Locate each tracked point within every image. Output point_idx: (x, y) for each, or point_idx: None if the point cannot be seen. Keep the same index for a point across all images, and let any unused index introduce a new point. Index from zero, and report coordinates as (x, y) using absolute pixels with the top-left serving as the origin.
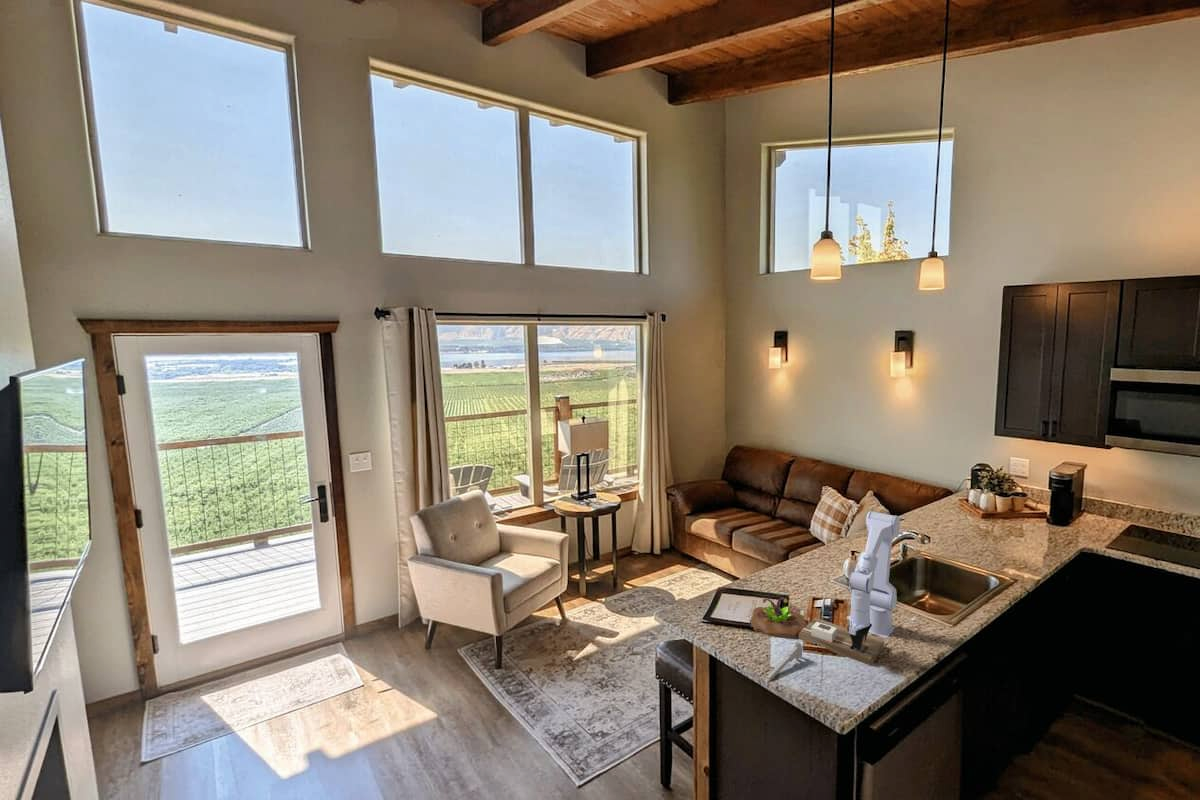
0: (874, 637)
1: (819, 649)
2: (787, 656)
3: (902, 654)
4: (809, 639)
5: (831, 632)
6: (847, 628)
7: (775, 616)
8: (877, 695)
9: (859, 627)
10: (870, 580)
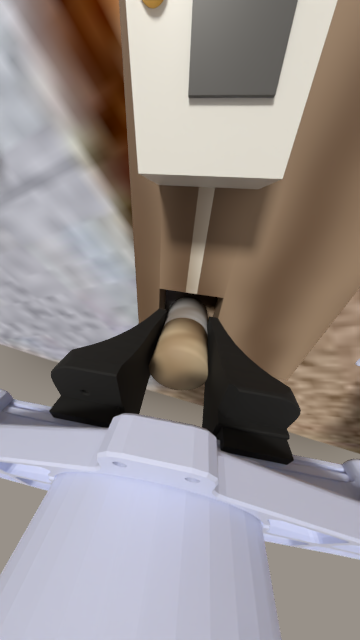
0: (304, 357)
1: (122, 113)
2: None
3: None
4: None
5: (163, 155)
6: (59, 364)
7: None
8: (50, 356)
9: (25, 482)
10: None
